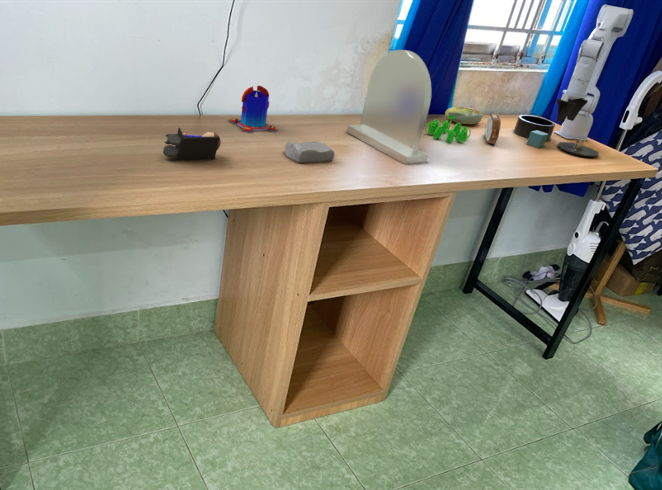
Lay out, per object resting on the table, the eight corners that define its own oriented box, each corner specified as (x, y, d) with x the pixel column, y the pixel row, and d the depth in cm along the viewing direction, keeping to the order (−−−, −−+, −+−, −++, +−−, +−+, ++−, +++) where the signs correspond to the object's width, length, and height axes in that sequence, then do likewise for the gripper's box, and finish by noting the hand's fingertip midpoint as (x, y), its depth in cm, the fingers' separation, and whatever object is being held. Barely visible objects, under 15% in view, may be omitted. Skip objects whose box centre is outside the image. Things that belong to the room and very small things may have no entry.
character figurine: (160, 155, 156) (215, 154, 162) (168, 163, 150) (225, 162, 157) (160, 124, 152) (217, 124, 159) (168, 131, 147) (227, 131, 153)
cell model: (437, 110, 225) (471, 95, 228) (441, 130, 228) (474, 116, 231) (455, 113, 215) (490, 97, 218) (459, 134, 219) (493, 119, 222)
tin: (495, 147, 202) (503, 122, 198) (485, 145, 203) (493, 120, 198) (491, 135, 215) (498, 111, 211) (482, 133, 215) (489, 109, 211)
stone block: (280, 158, 171) (298, 163, 162) (281, 140, 169) (299, 145, 161) (316, 157, 176) (335, 163, 168) (318, 140, 174) (337, 145, 166)
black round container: (537, 130, 229) (542, 116, 226) (556, 142, 219) (562, 127, 216) (507, 128, 226) (512, 113, 223) (525, 139, 216) (531, 124, 213)
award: (427, 162, 180) (454, 63, 165) (405, 164, 175) (430, 63, 161) (367, 131, 199) (386, 40, 184) (346, 132, 194) (364, 39, 180)
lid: (579, 145, 219) (585, 133, 216) (606, 159, 208) (611, 146, 206) (548, 144, 215) (553, 131, 212) (573, 158, 204) (578, 144, 202)
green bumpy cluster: (451, 147, 196) (457, 125, 192) (414, 132, 205) (420, 111, 201) (477, 142, 205) (483, 121, 201) (440, 128, 214) (446, 108, 210)
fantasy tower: (244, 132, 180) (249, 91, 174) (227, 120, 188) (230, 80, 182) (279, 131, 186) (284, 90, 179) (260, 119, 194) (265, 80, 188)
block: (532, 142, 214) (537, 130, 212) (544, 146, 211) (548, 134, 209) (526, 144, 211) (530, 131, 209) (537, 148, 209) (542, 135, 206)
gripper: (578, 75, 206) (563, 115, 213) (559, 77, 197) (544, 119, 204) (598, 80, 202) (582, 121, 209) (580, 83, 193) (564, 125, 200)
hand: (565, 121), depth 206 cm, fingers open, 7 cm apart
